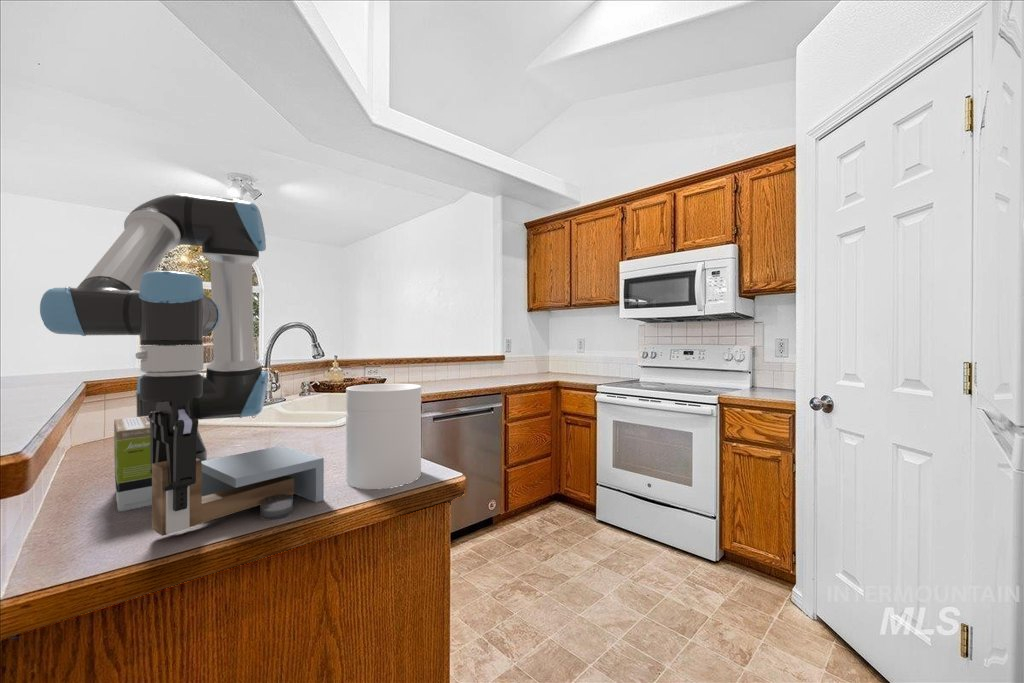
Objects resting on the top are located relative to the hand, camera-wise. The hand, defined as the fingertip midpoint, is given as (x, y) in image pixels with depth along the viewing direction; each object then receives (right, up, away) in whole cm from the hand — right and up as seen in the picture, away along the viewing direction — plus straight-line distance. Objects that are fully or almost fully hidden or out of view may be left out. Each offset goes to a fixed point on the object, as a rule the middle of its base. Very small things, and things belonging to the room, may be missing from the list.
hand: (172, 525), depth 65 cm
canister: (+24, -2, +29) cm, 38 cm away
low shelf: (+5, -2, +14) cm, 15 cm away
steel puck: (+11, -2, +9) cm, 14 cm away
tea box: (-19, -2, +18) cm, 26 cm away
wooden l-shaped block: (+4, 0, +7) cm, 8 cm away
